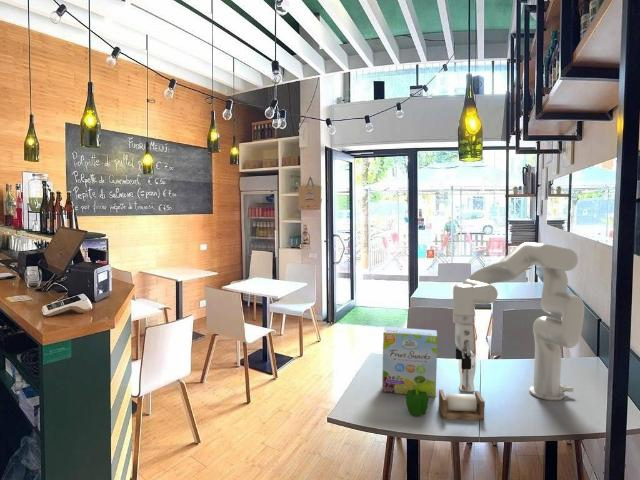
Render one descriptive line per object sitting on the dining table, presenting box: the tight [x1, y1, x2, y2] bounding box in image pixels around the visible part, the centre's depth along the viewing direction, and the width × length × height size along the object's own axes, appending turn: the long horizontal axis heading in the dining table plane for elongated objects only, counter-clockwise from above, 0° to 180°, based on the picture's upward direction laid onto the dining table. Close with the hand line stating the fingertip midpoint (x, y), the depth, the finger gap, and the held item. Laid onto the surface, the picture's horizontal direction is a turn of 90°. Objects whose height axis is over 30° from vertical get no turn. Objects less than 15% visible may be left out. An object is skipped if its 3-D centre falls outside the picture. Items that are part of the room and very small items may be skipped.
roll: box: [445, 393, 477, 412], centre depth 164 cm, size 10×6×6 cm, turn 84°
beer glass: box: [457, 352, 477, 393], centre depth 184 cm, size 7×7×15 cm
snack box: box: [381, 326, 438, 398], centre depth 182 cm, size 22×9×26 cm, turn 77°
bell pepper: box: [405, 385, 430, 417], centre depth 164 cm, size 8×8×10 cm
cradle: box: [438, 389, 485, 421], centre depth 163 cm, size 14×9×7 cm, turn 84°
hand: (463, 363), depth 163 cm, fingers open, 9 cm apart
